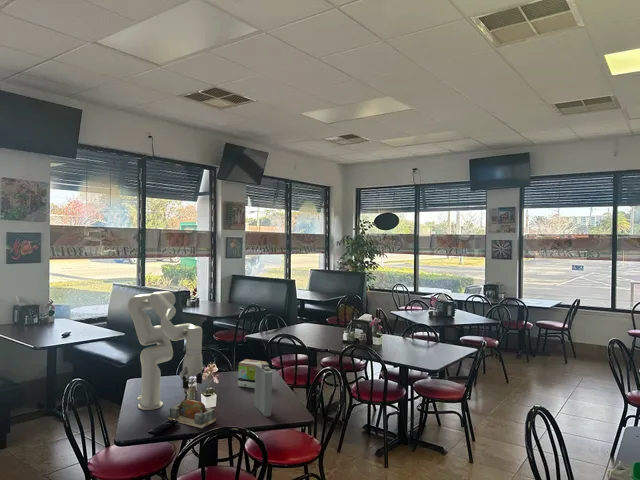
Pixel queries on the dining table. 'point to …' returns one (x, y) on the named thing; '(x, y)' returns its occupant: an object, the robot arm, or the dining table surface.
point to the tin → (191, 408)
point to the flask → (263, 388)
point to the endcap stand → (199, 420)
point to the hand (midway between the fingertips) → (192, 385)
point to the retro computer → (247, 373)
